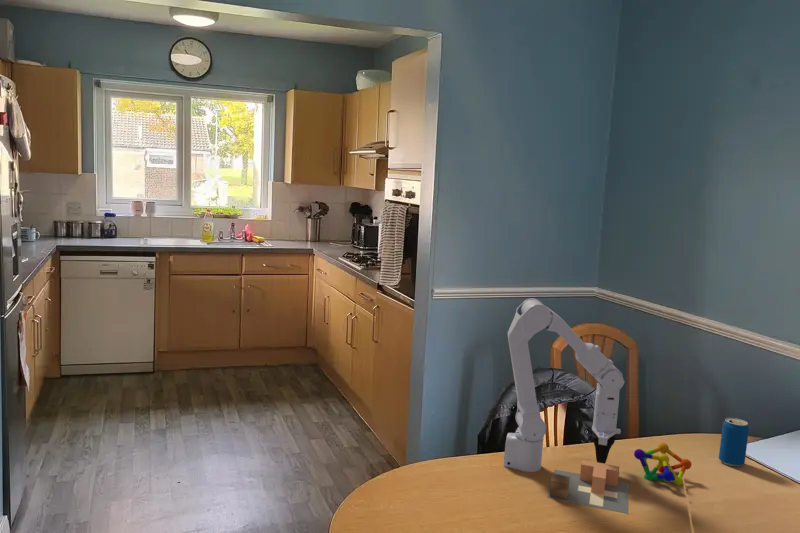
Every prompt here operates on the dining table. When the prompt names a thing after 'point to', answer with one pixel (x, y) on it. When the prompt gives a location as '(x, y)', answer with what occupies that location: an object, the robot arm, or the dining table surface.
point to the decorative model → (663, 460)
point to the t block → (599, 475)
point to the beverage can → (733, 442)
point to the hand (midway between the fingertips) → (601, 462)
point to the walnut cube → (559, 486)
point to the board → (595, 494)
